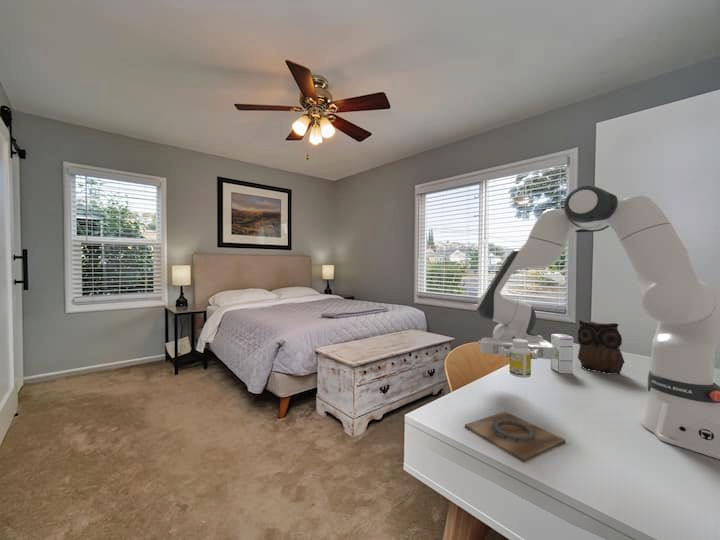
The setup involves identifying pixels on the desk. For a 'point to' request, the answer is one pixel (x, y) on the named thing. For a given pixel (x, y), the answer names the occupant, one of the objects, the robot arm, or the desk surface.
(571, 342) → the syrup box
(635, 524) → the desk surface
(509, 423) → the board
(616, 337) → the owl
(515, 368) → the supplement bottle
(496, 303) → the robot arm
